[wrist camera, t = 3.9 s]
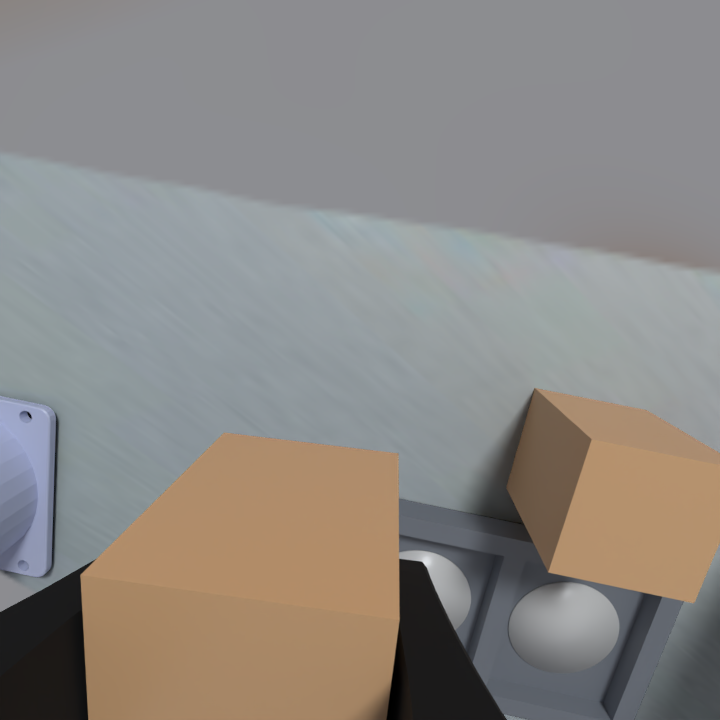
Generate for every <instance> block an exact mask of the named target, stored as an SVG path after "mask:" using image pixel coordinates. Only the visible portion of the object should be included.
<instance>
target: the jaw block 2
mask: <svg viewBox="0 0 720 720" xmlns="http://www.w3.org/2000/svg"><path fill="white" fill-rule="evenodd" d="M506 488H507V490H508V492H509V494H510V496H511V498H512V500H513V502H514V505H515V507H516V509H517V511H518V513H519V515H520V517H521V519H522V521H523V523H524V525H525V527H526V529H527V531H528V533H529V535H530V537H531V539H532V541H533V543H534V545H535V547H536V549H537V551H538V553H539V555H540V557H541V559H542V561H543V563H544V565H545V567H546V569H547V571H548V573H553V574H558V575H562V576H567V577H572V578H577V579H581V580H586V581H591V582H596V583H600V584H605V585H610V586H615V587H619V588H624V589H629V590H634V591H638V592H643V593H648V594H653V595H657V596H662V597H667V598H671V599H676V600H681V601H686V602H690V603H694V602H695V600H696V598H697V595H698V593H699V590H700V588H701V586H702V583H703V581H704V579H705V576H706V574H707V572H708V569H709V567H710V564H711V562H712V560H713V557H714V555H715V553H716V550H717V548H718V545H719V543H720V453H718V452H717V451H715V450H713V449H712V448H710V447H708V446H707V445H705V444H703V443H701V442H700V441H698V440H696V439H695V438H693V437H691V436H690V435H688V434H686V433H684V432H683V431H681V430H679V429H678V428H676V427H674V426H673V425H671V424H669V423H668V422H666V421H664V420H662V419H661V418H659V417H657V416H656V415H654V414H652V413H651V412H649V411H647V410H643V409H638V408H633V407H628V406H623V405H618V404H613V403H608V402H603V401H598V400H592V399H587V398H582V397H577V396H572V395H567V394H562V393H557V392H552V391H547V390H542V389H537V388H535V389H534V393H533V396H532V400H531V403H530V407H529V410H528V414H527V417H526V421H525V424H524V428H523V431H522V435H521V438H520V442H519V445H518V448H517V452H516V455H515V459H514V462H513V466H512V469H511V473H510V476H509V480H508V483H507V487H506Z"/></svg>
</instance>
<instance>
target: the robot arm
mask: <svg viewBox="0 0 720 720" xmlns="http://www.w3.org/2000/svg"><path fill="white" fill-rule="evenodd" d="M27 412H29V413H30V414H31V416H32V419H31V418H30V417H29V416H28V414H27ZM55 433H56V416H55V413H54V412H53V410H52V409H51V408H50V407H48V406H45V405H41V404H37V403H32V402H27V401H22V400H17V399H13V398H8V397H3V396H0V569H1V570H6V571H10V572H15V573H19V574H24V575H28V576H33V577H41V576H43V575H44V574H45V573H47V572H48V571H49V570H50V568H51V561H52V529H53V497H54V465H55ZM95 560H96V559H95ZM95 560H94V561H95ZM94 561H92V562H90V563H89V564H87V565H85V566H83V567H82V568H80V569H78V570H76V571H75V572H73V573H71V574H69V575H68V576H66V577H64V578H62V579H61V580H59V581H57V582H55V583H54V584H52V585H50V586H48V587H46V588H45V589H43V590H41V591H39V592H37V593H35V594H34V595H32V596H30V597H28V598H26V599H24V600H22V601H20V602H18V603H17V604H15V605H13V606H11V607H9V608H7V609H5V610H4V611H2V612H0V720H88V703H87V685H86V667H85V649H84V631H83V613H82V595H81V577H80V575H81V574H82V573H83V572H84V571H85V570H86V569H87V568H88V567H89V566H90V565H91V564H92V563H93V562H94ZM399 617H400V620H399V628H398V636H397V643H396V651H395V658H394V666H393V673H392V681H391V689H390V696H389V704H388V711H387V719H386V720H507V719H506V718H505V716H504V714H503V713H502V711H501V710H500V708H499V706H498V705H497V703H496V702H495V700H494V698H493V697H492V695H491V693H490V692H489V690H488V688H487V687H486V685H485V683H484V682H483V680H482V678H481V677H480V675H479V673H478V671H477V670H476V668H475V666H474V664H473V663H472V661H471V659H470V657H469V655H468V654H467V652H466V650H465V648H464V646H463V644H462V642H461V641H460V639H459V637H458V635H457V633H456V631H455V629H454V627H453V625H452V623H451V621H450V619H449V617H448V615H447V613H446V611H445V609H444V607H443V605H442V603H441V601H440V598H439V596H438V594H437V592H436V589H435V587H434V585H433V582H432V580H431V577H430V575H429V572H428V569H427V567H426V566H425V565H424V563H423V562H421V561H414V560H406V559H399Z"/></svg>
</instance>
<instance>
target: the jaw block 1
mask: <svg viewBox="0 0 720 720" xmlns="http://www.w3.org/2000/svg"><path fill="white" fill-rule="evenodd" d="M80 577H81V595H82V613H83V631H84V649H85V667H86V685H87V703H88V720H386V719H387V711H388V704H389V696H390V689H391V681H392V673H393V666H394V658H395V651H396V643H397V636H398V628H399V620H400V617H399V469H398V453H390V452H381V451H373V450H364V449H356V448H348V447H339V446H331V445H323V444H314V443H306V442H297V441H289V440H281V439H272V438H264V437H256V436H247V435H239V434H231V433H223V434H222V435H221V436H220V437H219V438H218V439H217V440H216V441H215V442H214V443H213V444H212V445H211V446H210V447H209V448H208V449H207V450H206V451H205V452H204V453H203V454H202V455H201V456H200V457H199V458H198V459H197V460H196V461H195V462H194V463H193V464H192V465H191V466H190V467H189V468H188V469H187V470H186V471H185V472H184V473H183V474H182V475H181V476H180V477H179V478H178V479H177V480H176V481H175V482H174V483H173V484H172V485H171V486H170V487H169V488H168V489H167V490H166V491H165V492H164V493H163V494H162V495H161V496H160V497H159V498H158V499H157V500H156V501H155V502H154V503H153V504H152V505H151V506H150V507H149V508H148V509H147V510H146V511H145V512H144V513H143V514H142V515H141V516H140V517H139V518H138V519H136V520H135V521H134V522H133V523H132V524H131V525H130V526H129V527H128V528H127V529H126V530H125V531H124V532H123V533H122V534H121V535H120V536H119V537H118V538H117V539H116V540H115V541H114V542H113V543H112V544H111V545H110V546H109V547H108V548H107V549H106V550H105V551H104V552H103V553H102V554H101V555H100V556H99V557H98V558H97V559H96V560H95V561H94V562H93V563H92V564H91V565H90V566H89V567H88V568H87V569H86V570H85V571H84V572H83V573H82V574H81V575H80Z"/></svg>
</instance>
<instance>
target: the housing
mask: <svg viewBox="0 0 720 720" xmlns="http://www.w3.org/2000/svg"><path fill="white" fill-rule="evenodd" d="M399 559H406V560H414V561H421V562H423V563H424V565H425V566H426V567H427V569H428V572H429V575H430V577H431V580H432V582H433V585H434V587H435V589H436V592H437V594H438V596H439V598H440V601H441V603H442V605H443V607H444V609H445V611H446V613H447V615H448V617H449V619H450V621H451V623H452V625H453V627H454V629H455V631H456V633H457V635H458V637H459V639H460V641H461V642H462V644H463V646H464V648H465V650H466V652H467V654H468V655H469V657H470V659H471V661H472V663H473V664H474V666H475V668H476V670H477V671H478V673H479V675H480V677H481V678H482V680H483V682H484V683H485V685H486V687H487V688H488V690H489V692H490V693H491V695H492V697H493V698H494V700H495V702H496V703H497V705H498V706H499V708H500V710H501V711H502V713H503V714H506V715H510V716H515V717H519V718H524V719H528V720H634V719H635V717H636V715H637V712H638V710H639V707H640V705H641V703H642V700H643V698H644V695H645V693H646V691H647V688H648V686H649V683H650V681H651V679H652V676H653V674H654V671H655V669H656V667H657V664H658V662H659V659H660V657H661V654H662V652H663V650H664V647H665V645H666V642H667V640H668V638H669V635H670V633H671V630H672V628H673V626H674V623H675V621H676V618H677V616H678V614H679V611H680V609H681V606H682V604H683V602H684V601H681V600H676V599H671V598H667V597H662V596H657V595H653V594H648V593H643V592H638V591H634V590H629V589H624V588H619V587H615V586H610V585H605V584H600V583H596V582H591V581H586V580H581V579H577V578H572V577H567V576H562V575H558V574H553V573H548V571H547V569H546V567H545V565H544V563H543V561H542V559H541V557H540V555H539V553H538V551H537V549H536V547H535V545H534V543H533V541H532V539H531V537H530V535H529V533H528V531H527V529H526V527H525V525H522V524H518V523H513V522H508V521H503V520H499V519H494V518H489V517H484V516H479V515H475V514H470V513H465V512H460V511H455V510H451V509H446V508H441V507H436V506H431V505H427V504H422V503H417V502H412V501H407V500H403V499H399Z"/></svg>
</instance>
